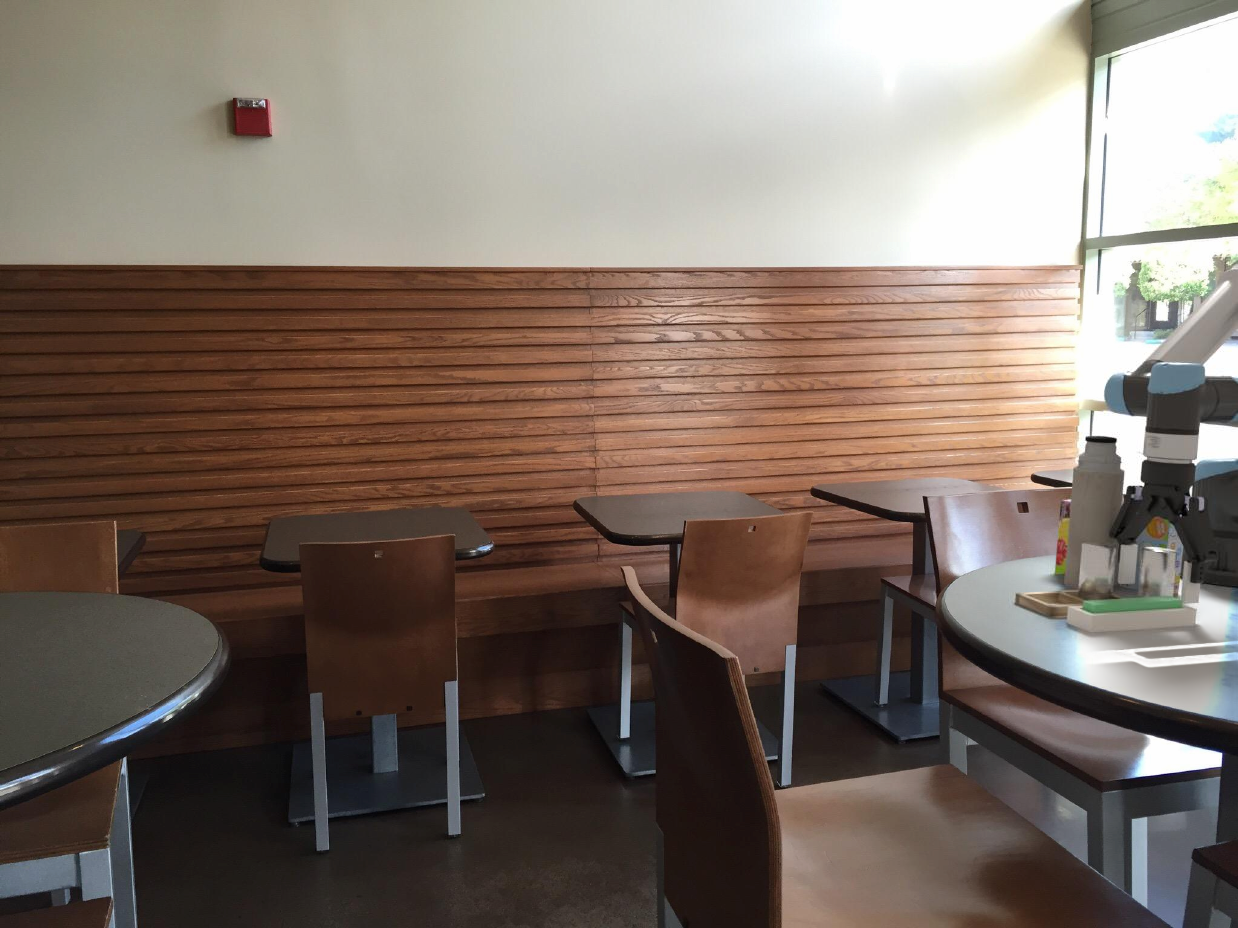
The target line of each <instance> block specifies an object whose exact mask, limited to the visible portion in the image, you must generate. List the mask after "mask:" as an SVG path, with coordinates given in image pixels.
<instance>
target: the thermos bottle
mask: <svg viewBox="0 0 1238 928" xmlns="http://www.w3.org/2000/svg"><path fill="white" fill-rule="evenodd" d="M1085 441H1086V443H1085V445H1084V451H1083V452H1081V453H1080V454H1079V455H1078V460H1077V462H1078V463H1077V466H1073V473H1072V481H1071V483H1072V484H1071V495H1070V499H1071V505H1070V518H1069V530H1068V547H1067V556H1066V567H1065V574H1064V580H1063V581H1064V583H1063V584H1064V586H1065V587H1067V588H1071V589H1072V590H1078V588H1079V576H1080V564H1081V552H1082V543H1084V542H1099V543H1107V544H1111V545H1115V546H1116V547H1117V549H1116V560H1115V571H1114V583H1113V592H1114V591H1115V575H1116V564H1117V552H1118V542H1117V540H1116V539H1115V538H1111V537H1110V536H1109V533H1110V531H1111V528H1112V526H1113V524H1114V522H1115V520H1116V517H1117V515H1118V513H1119V511H1120V509H1121V507H1122V504H1123V497H1124V496H1123V494H1124V483H1125V470H1124V469H1122V467H1121V464H1122V463H1123V462H1122V457H1121V456H1120V455H1118V454H1117V445H1116V444H1117V442H1118V439H1117V438H1116V437H1114V436H1106V435H1105V436H1104V435H1087V436H1085V440H1084V442H1085Z"/></svg>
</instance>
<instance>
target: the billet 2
mask: <svg viewBox="0 0 1238 928" xmlns="http://www.w3.org/2000/svg"><path fill="white" fill-rule="evenodd" d="M1176 561H1177V551H1175V550H1171V549H1166V548H1159V547H1143V548H1142V553H1141V564H1140V574H1139V585H1138V590H1137V597H1136V598H1142V597H1159V596H1172V597H1174V594H1173V592H1174V582H1175V571H1176Z"/></svg>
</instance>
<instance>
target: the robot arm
mask: <svg viewBox="0 0 1238 928" xmlns="http://www.w3.org/2000/svg"><path fill="white" fill-rule="evenodd" d="M1237 330H1238V259H1237V260H1235V261H1234V262H1233V263H1232V264H1231V265H1229V266H1228V267H1227V268H1226V269H1225V270H1224V272H1222V274H1220V276H1219V277H1218V279H1217V282H1216V288H1215V289H1214V290H1212V292H1211V293H1210V294H1209V295H1208V296H1207V297H1206V298H1205V299H1204V300H1203V301H1202V302H1201V303H1200V304H1199V305H1198V306H1197V307H1196V308H1195V309H1194V310H1193V311H1192V312H1191V313H1190V314H1189V315H1188V316H1187V317H1186V318H1185V319H1184V320H1183V322H1181V324H1179V325H1178V326H1177V328H1175V330H1174V331H1172V333H1170V334H1169V336H1168V337H1167V338H1166V339H1165V340H1164V341H1163V342H1161V344H1160V345H1159V346H1158V347H1156V349H1155V350H1154V351H1153V352H1152V353H1151V354H1150V355H1149V356H1148V357H1147V358H1146V359H1145V360H1144V361H1142V363H1141V364H1140V365H1139V366H1138V367H1137V369H1135V370H1134V371H1129V370H1126V371H1124V372H1123V371H1122V372H1116V373H1114V374H1112V375H1111V376H1110V378H1108V380H1107V381H1106V383H1105V386H1104V392H1103V397H1104V402H1105V404H1106V406H1107V409H1109V410H1110V411H1111V412H1112V413H1115V414H1119V415H1126V416H1130V417H1142V418H1146V421H1145V423H1146V424H1145V429H1144V438H1143V439H1144V440H1143V448H1142V449H1143V450H1142V455H1143V456H1144V457H1146V459H1143V461H1141V470H1140V478H1139V479H1140V481H1141V482H1142V483H1143V485H1127V487H1126V490H1125V491H1126V492H1125V497H1124V500H1123V501H1122V507H1121V509H1120V511H1119V513H1118V515H1117V517H1116V520H1115V522H1114V524H1113V526H1112V528H1111V531H1110V533H1109V536H1110V537H1111V538H1115V539H1116V540H1117V542H1118V543H1119V549H1118V562H1120V563H1119V574H1118V583H1119V584H1134V583H1135V572H1136V561H1137V550H1138V545H1131V544H1133V543H1137V542H1136V539H1137V538H1138V536H1139V535H1140V534H1141V533H1142V532H1143V530H1144V529H1145V528H1146V527H1147V525H1148V524H1149V523H1150V522H1151V521H1152V519H1153V518H1154V517H1160V518H1162V519H1166V520H1167V519H1168V521H1169V522H1170V523H1171V524H1172V525H1173V526H1174V528H1175V530H1176V532H1177V534H1178V536H1179V538H1180V541H1181V543H1182V545H1183V553H1182V563H1181V573H1180V578H1181V577H1182V584H1181V593H1180V599H1181V600H1182V604H1183V605H1187V604H1199V602H1200V592H1201V589H1200V588H1201V584H1203V583H1205V584H1212V585H1218V586H1227V587H1238V458H1212V459H1211V458H1210V459H1208V458H1207V459H1203V460H1202V459H1201V460H1200V461H1198V462H1197V463H1196V464H1195V463H1194V462H1193V461H1196V460H1197V459H1198V449H1199V439H1200V428H1201V427H1200V426H1201V423H1207V424H1209V423H1212V424H1213V423H1218V424H1220V423H1221V424H1223V425H1224V424H1228V423H1233V422H1238V377H1235V376H1234V377H1233V376H1231V375H1221V376H1220V375H1219V376H1218V375H1217V376H1216V375H1206V369H1205V366H1204V364H1205V363H1207V362H1208V361H1209V359H1210V358H1211V357H1213V355H1214V354H1215V353H1216V352H1217V351H1218V350H1219V349H1220V348H1221V347H1222V346H1223V345H1224V343H1226V341H1227V340H1229V338H1231V337H1232V335H1234V333H1235V332H1237ZM1190 489H1191V490H1190ZM1190 491H1191V492H1190ZM1119 530H1120V531H1119Z"/></svg>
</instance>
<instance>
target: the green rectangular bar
mask: <svg viewBox="0 0 1238 928" xmlns="http://www.w3.org/2000/svg"><path fill="white" fill-rule="evenodd" d="M1124 598H1125V597H1124ZM1182 604H1183V603H1182V600H1181V598H1178V597H1176V596H1175V597H1174V596H1173V597H1172V596H1159V597H1142V598H1137V597H1129V598H1127V597H1126V598H1125V599H1108V600H1091V601H1083V609H1082V610H1085V611H1088V612H1090V613H1108V612H1124V611H1140V610H1156V609H1172V608H1182Z"/></svg>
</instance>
